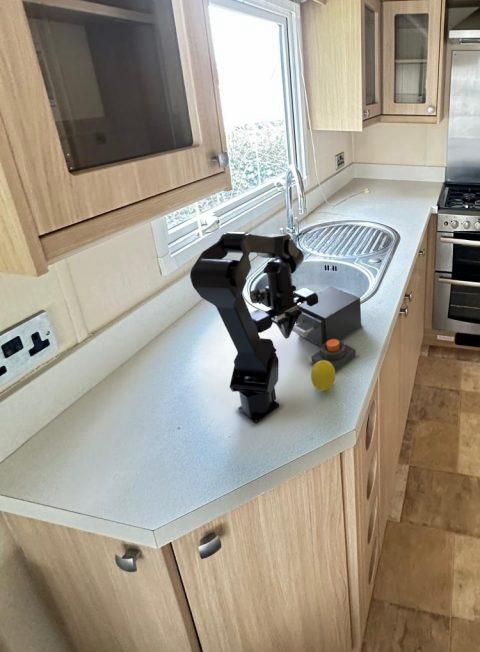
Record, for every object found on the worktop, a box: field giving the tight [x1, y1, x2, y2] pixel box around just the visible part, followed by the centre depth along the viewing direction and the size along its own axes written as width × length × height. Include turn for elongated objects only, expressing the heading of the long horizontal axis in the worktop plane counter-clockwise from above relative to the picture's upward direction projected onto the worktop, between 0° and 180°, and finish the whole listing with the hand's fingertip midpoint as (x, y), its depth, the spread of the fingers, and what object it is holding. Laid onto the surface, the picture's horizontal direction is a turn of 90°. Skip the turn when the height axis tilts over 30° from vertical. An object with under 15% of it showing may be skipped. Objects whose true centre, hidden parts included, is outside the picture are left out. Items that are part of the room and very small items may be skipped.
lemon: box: [310, 360, 337, 391], centre depth 93 cm, size 6×6×8 cm
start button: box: [327, 339, 340, 352], centre depth 103 cm, size 3×3×2 cm
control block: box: [310, 340, 357, 372], centre depth 104 cm, size 9×7×4 cm
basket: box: [292, 308, 325, 348], centre depth 113 cm, size 16×10×8 cm, turn 141°
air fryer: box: [297, 286, 362, 342], centre depth 116 cm, size 14×12×10 cm
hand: (286, 337), depth 104 cm, fingers closed
